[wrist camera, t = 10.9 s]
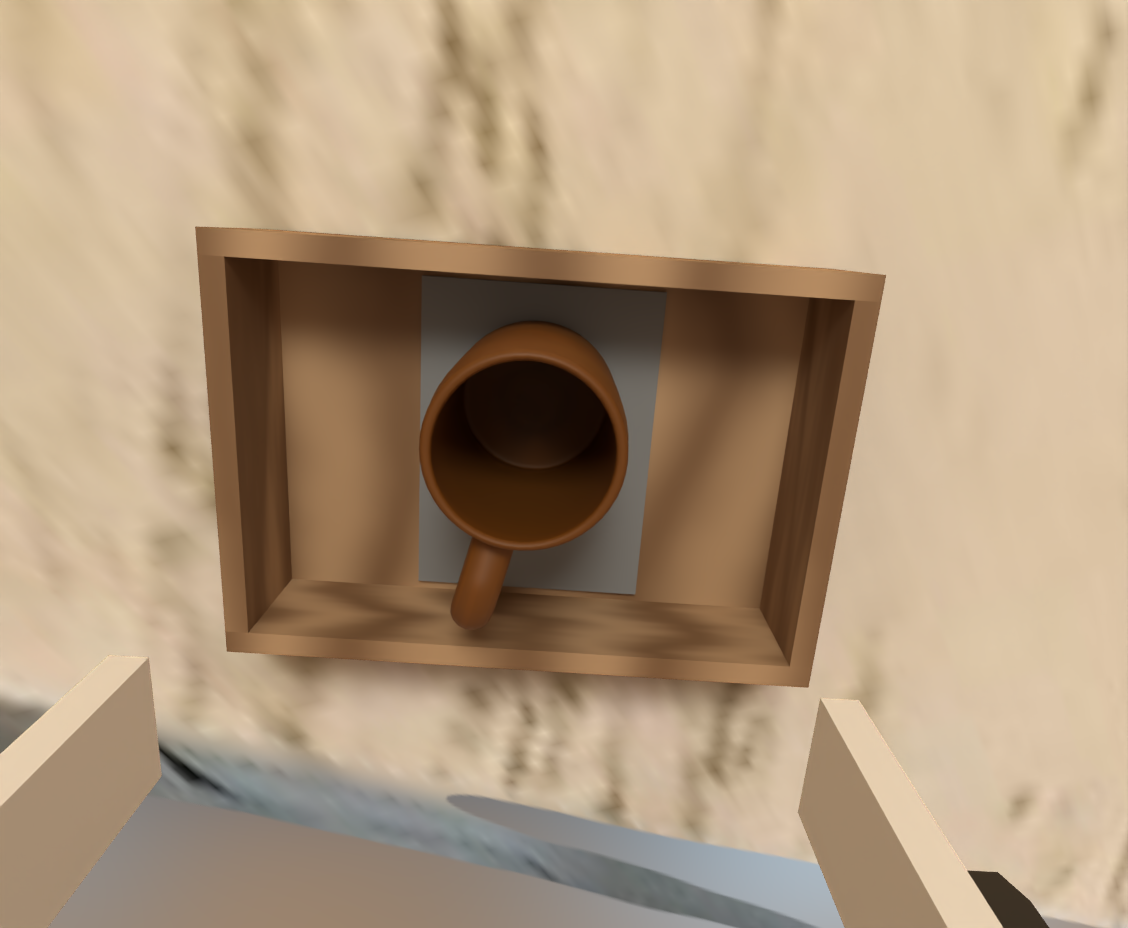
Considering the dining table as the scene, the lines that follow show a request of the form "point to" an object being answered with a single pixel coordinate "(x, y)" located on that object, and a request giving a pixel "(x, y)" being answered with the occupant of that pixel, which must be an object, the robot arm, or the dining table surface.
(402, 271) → the crate
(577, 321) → the pad
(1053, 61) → the dining table surface
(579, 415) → the mug
